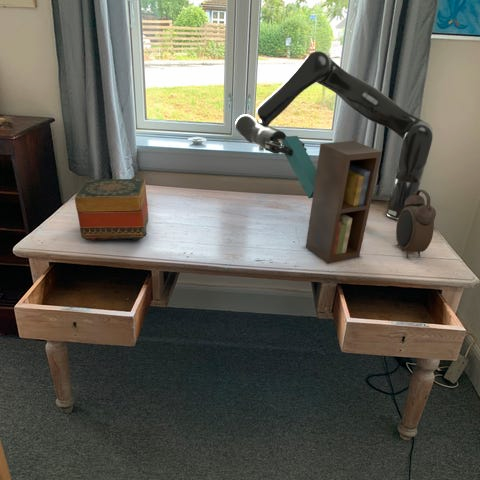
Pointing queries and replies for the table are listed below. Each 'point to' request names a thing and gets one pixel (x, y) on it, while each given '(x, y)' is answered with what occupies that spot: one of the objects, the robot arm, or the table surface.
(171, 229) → the table surface
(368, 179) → the bookcase
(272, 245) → the table surface
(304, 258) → the table surface
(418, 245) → the alarm clock
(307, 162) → the pencil box
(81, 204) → the decorative box
